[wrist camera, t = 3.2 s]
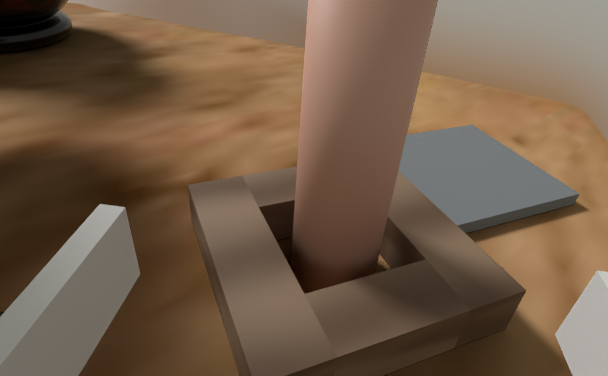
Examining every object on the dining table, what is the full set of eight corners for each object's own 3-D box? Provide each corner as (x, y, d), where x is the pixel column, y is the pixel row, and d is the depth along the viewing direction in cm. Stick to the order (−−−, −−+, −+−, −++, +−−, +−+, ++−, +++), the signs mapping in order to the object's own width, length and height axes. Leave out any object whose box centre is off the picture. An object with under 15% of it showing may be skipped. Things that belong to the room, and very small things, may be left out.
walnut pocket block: (192, 221, 28) (187, 184, 26) (373, 185, 33) (379, 152, 31) (255, 425, 18) (255, 386, 16) (505, 328, 23) (526, 290, 21)
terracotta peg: (278, 251, 26) (290, -36, 17) (349, 234, 28) (394, -35, 19) (310, 313, 23) (347, -12, 13) (389, 289, 24) (470, -12, 15)
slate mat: (363, 151, 37) (365, 141, 37) (469, 134, 42) (472, 124, 41) (451, 237, 28) (454, 225, 28) (573, 204, 33) (579, 193, 32)
